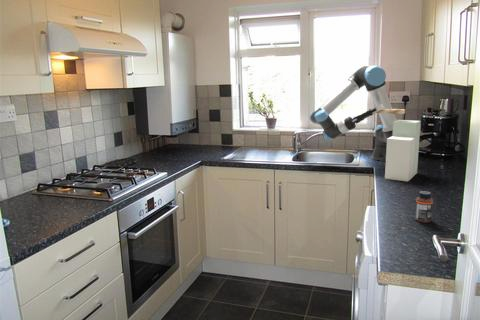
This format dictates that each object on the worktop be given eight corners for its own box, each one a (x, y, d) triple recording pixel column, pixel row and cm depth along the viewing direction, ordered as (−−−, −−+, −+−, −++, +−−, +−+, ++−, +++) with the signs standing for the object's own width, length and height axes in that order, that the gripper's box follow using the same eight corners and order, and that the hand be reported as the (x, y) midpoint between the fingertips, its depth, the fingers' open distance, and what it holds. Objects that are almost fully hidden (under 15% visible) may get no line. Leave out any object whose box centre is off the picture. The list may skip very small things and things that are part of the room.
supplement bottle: (418, 216, 162) (420, 189, 160) (434, 220, 158) (436, 192, 156) (411, 220, 158) (414, 192, 156) (427, 224, 154) (429, 195, 152)
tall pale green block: (384, 178, 223) (387, 123, 217) (395, 170, 241) (398, 119, 235) (407, 181, 217) (411, 124, 211) (416, 173, 234) (420, 120, 228)
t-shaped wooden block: (367, 112, 236) (368, 109, 235) (370, 112, 240) (371, 108, 240) (402, 114, 225) (402, 110, 225) (405, 113, 230) (405, 109, 230)
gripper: (354, 129, 253) (389, 111, 239) (345, 132, 240) (382, 113, 227) (348, 118, 253) (383, 99, 240) (339, 120, 241) (375, 101, 227)
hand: (382, 106), depth 233 cm, fingers closed on t-shaped wooden block, 2 cm apart
